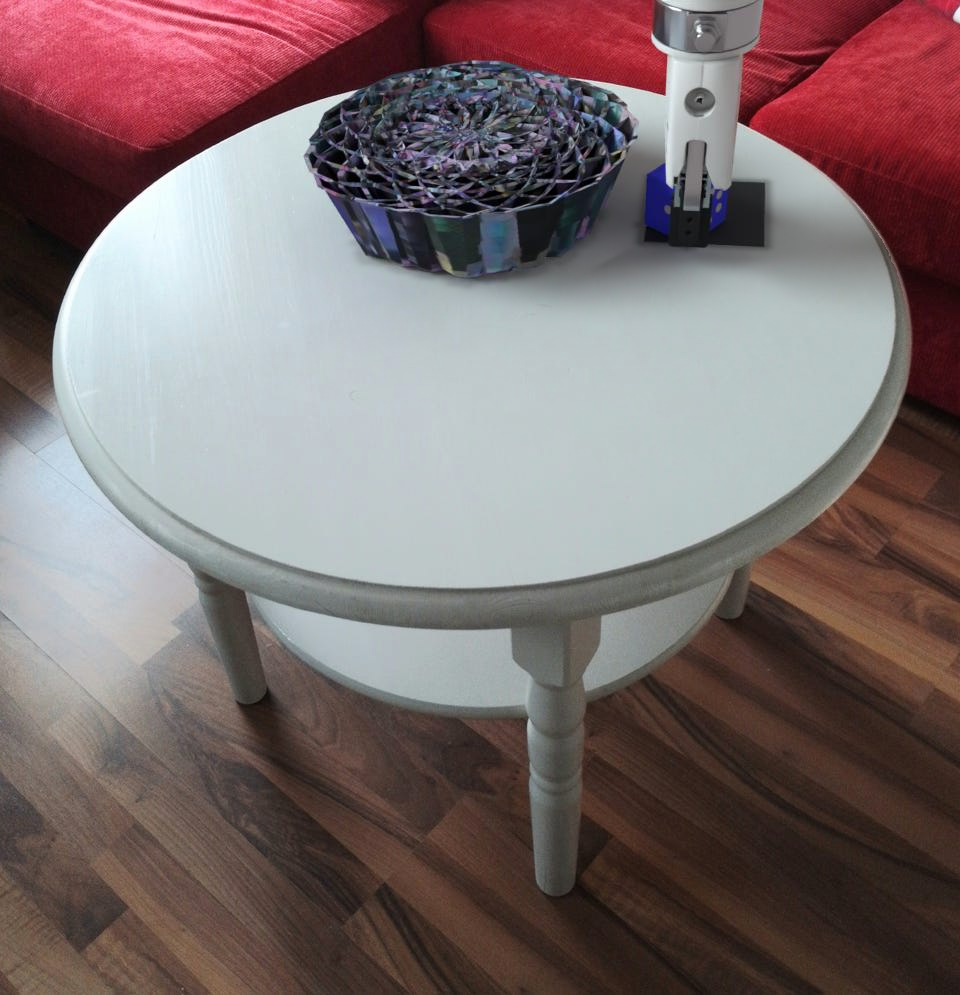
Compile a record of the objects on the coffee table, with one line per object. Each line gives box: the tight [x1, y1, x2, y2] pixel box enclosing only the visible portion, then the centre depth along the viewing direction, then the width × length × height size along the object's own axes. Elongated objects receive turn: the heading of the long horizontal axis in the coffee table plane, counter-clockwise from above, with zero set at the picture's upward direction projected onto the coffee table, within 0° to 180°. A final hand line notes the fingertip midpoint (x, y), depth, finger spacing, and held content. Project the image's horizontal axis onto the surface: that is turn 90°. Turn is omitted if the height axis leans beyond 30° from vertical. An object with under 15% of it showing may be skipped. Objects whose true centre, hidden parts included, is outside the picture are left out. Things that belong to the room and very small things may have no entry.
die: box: [644, 161, 728, 236], centre depth 93 cm, size 5×5×5 cm
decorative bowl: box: [303, 60, 640, 278], centre depth 95 cm, size 26×28×10 cm
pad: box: [643, 180, 766, 248], centre depth 96 cm, size 10×10×1 cm
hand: (688, 241), depth 90 cm, fingers closed
